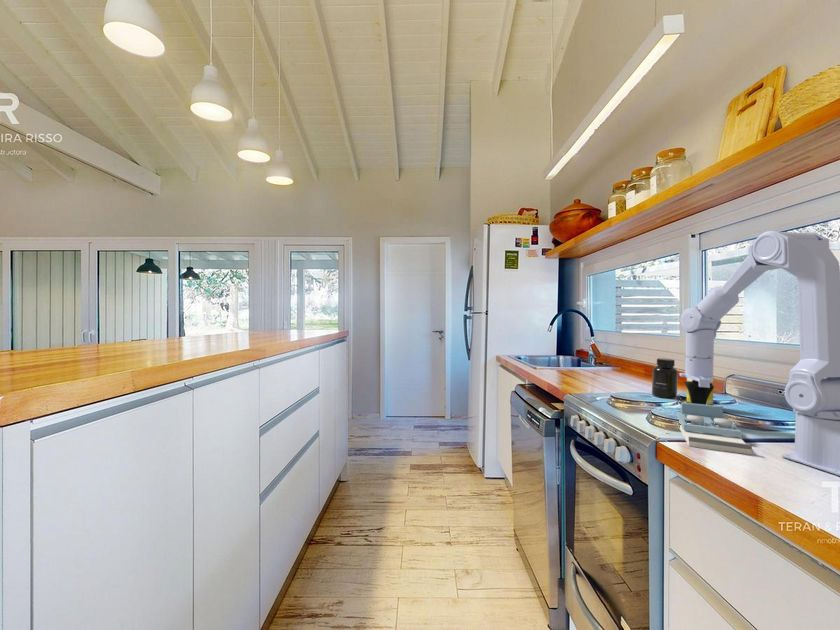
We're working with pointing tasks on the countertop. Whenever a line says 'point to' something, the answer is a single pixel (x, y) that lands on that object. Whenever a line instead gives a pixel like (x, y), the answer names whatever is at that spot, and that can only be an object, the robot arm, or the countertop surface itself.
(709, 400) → the pill bottle
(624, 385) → the countertop surface
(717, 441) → the boss board
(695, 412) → the panel
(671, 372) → the supplement bottle
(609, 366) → the countertop surface
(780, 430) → the countertop surface
